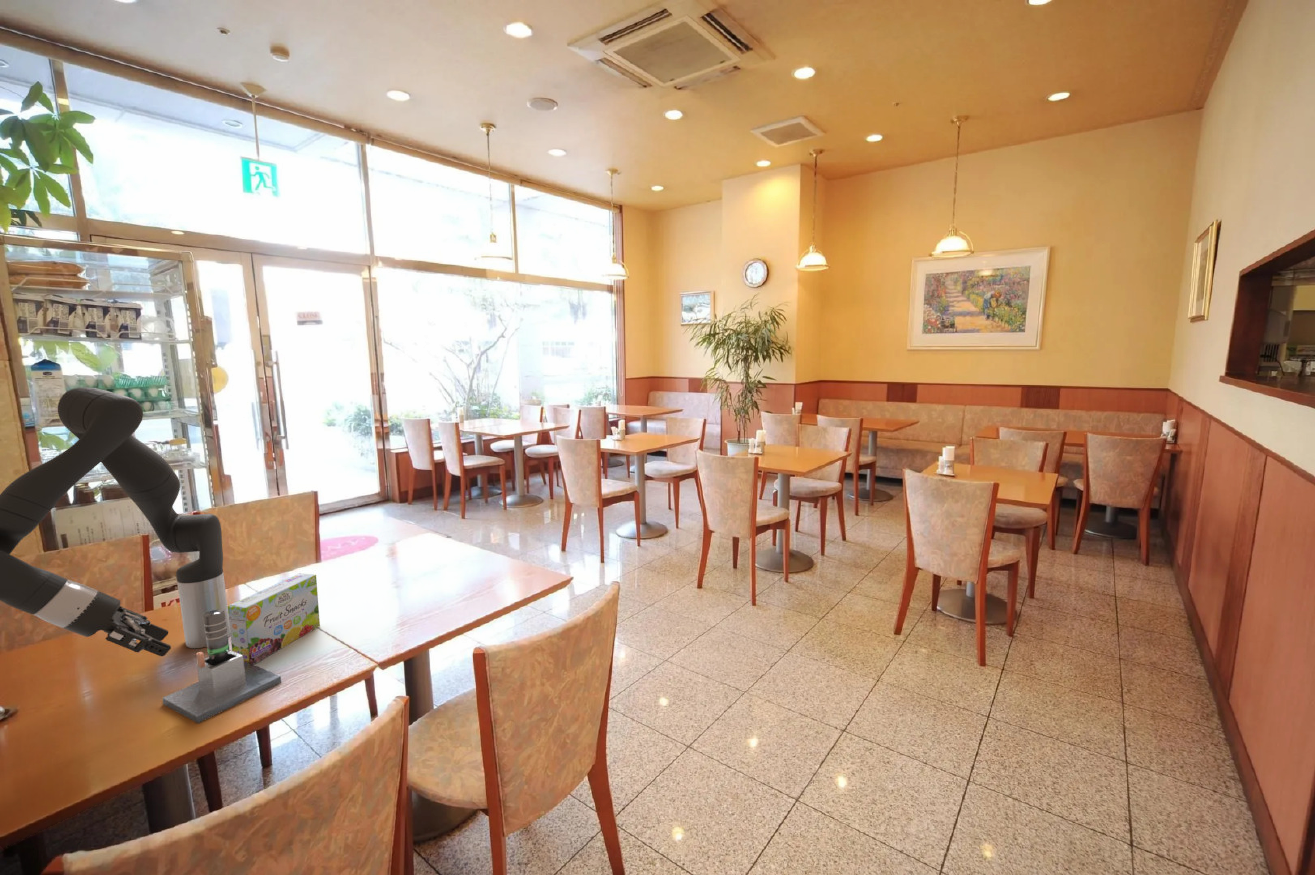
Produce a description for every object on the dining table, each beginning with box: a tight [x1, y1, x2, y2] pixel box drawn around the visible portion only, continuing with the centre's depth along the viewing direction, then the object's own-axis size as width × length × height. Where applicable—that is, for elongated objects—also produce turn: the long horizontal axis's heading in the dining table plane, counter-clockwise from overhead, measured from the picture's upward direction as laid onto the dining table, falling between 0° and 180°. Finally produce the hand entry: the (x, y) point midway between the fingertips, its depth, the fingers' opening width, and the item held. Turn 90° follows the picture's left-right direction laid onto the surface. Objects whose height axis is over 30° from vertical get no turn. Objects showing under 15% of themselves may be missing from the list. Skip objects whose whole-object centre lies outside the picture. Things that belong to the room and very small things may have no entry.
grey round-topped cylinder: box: [203, 609, 231, 666], centre depth 122 cm, size 4×4×12 cm
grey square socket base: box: [161, 649, 282, 724], centre depth 122 cm, size 14×16×11 cm
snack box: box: [227, 573, 321, 665], centre depth 143 cm, size 21×6×15 cm, turn 168°
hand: (166, 643), depth 116 cm, fingers open, 8 cm apart
